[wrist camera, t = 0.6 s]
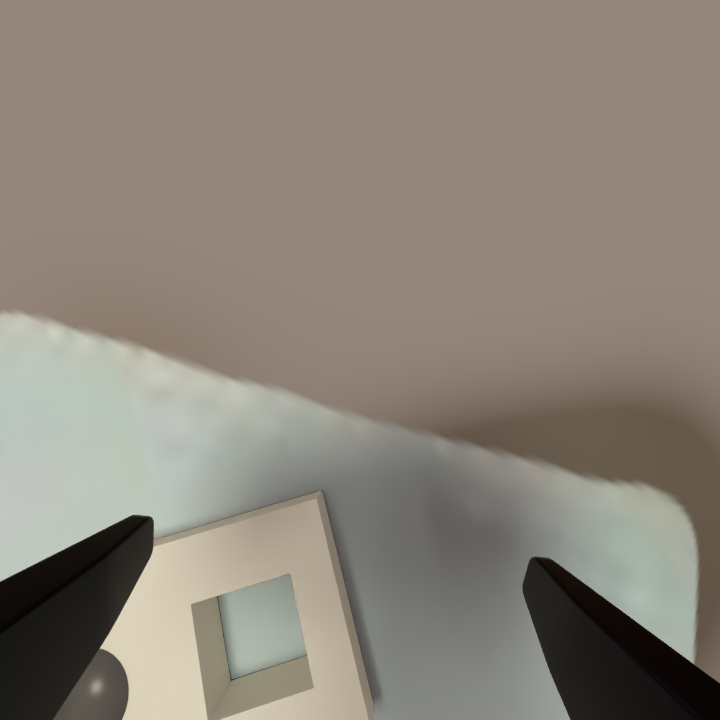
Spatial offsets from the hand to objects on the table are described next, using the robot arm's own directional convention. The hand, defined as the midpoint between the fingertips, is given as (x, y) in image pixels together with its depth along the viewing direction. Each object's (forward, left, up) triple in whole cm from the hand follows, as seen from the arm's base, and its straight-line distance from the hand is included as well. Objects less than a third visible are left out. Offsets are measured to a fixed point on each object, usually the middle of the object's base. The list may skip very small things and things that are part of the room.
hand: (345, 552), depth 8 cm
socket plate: (-6, +11, -15) cm, 19 cm away
